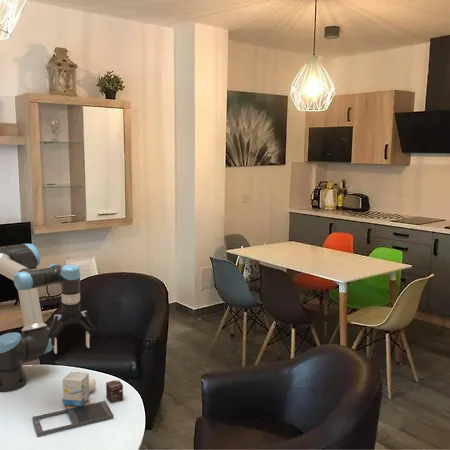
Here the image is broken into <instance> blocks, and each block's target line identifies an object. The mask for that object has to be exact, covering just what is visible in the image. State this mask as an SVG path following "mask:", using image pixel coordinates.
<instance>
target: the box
mask: <svg viewBox="0 0 450 450" xmlns="http://www.w3.org/2000/svg"><path fill="white" fill-rule="evenodd" d="M105 388H106V389H105V390H106V392H105V394H106V396H105V397H106V399H107V400H108V402H109V403H110V404H112V403H116V402H121V401H124V385H123V383H122V382H121V380H120V379H117V380H111V381H106V382H105Z"/></svg>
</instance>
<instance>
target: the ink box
mask: <svg viewBox="0 0 450 450" xmlns="http://www.w3.org/2000/svg"><path fill="white" fill-rule="evenodd" d="M89 376H90V374H89V372H80V371H70V372H69V373H68V374H67V375H66V376H65V377H63V379H62V399H63V400H62V403H63V406H65V405H70V406H82V405H83V404H84V403H85V402H86V401H87V400H89V399H90V392H89Z"/></svg>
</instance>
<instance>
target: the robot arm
mask: <svg viewBox="0 0 450 450" xmlns="http://www.w3.org/2000/svg"><path fill="white" fill-rule="evenodd" d="M40 263H41V257H40V252H39V250H38V247H36V246H35V245H34V244H32V243H20V244H13V245H7V246H5V245H4V246H0V275H2V276H4V277H6V278H8V279H10V280H12V281H13V284H14V286H15V289H16V290H17V293H18V299H19V303H20V304H19V305H20V310H21V316H22V321H23V328H22V329H21V333H20V332H17V331H16V332H7V333H4V334H1V335H0V392H1V393H7V392H8V393H9V392H14V391H16V390H17V391H18V390H19V389H21V388H23V387H24V386H25V385H26V384H27V383H28V378H27V377H28V376H27V374H26V372H25V370H24V366H23V361H24V360H28V359H30V358H34V357H35V358H36V357H38V356H43V355H44V354H48V353H49V352H51V351H52V350H53V352H54V354H56V355H57V353H58V344H57V343H58V340H57V336H58V335H59V333H60V332H61V331H62V329H63V328H64V327H65V326H66V325H71V324H76V323H79V324H80V325H81V326H82V327H83V328H84V329H85V330H86V331H85V347H87V348H88V349H90V341H91V340H92V337H93V336H92V334H93V332H95V331H97V328H96V327H95V325H94V323H93V322H92V320H91V318H90V316H89V311H87V309H84V310H83V311H81V273H80V272H81V270H80V267H79V265H76V264H66V265H62V264H61V265H60V264H58V263H57V264H56V263H54V264H50V265H49V266H48V267H43V268H37V267H38V266H39V265H40ZM51 285H52V286H53V285H59V286H61V287H60V289H61V314H57V313H55V314H54V315H53V319H52V321H51V323H50V326H49V327H48V325H47V324H46V323H45V322H44V321H43V316H42V309H41V304H40V298H39V293H38V288H43V287H47V286H51ZM82 316H83V317H85V319H86V321H87V323H88V325H89V326H90V327H89V326H88V325H87V324H86V323H85V322H84V321H83V320H81V317H82ZM60 319H62V320H60ZM58 321H60V323H59V324H58ZM57 324H58V325H57ZM56 326H57V327H56Z"/></svg>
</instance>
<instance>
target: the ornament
mask: <svg viewBox="0 0 450 450" xmlns="http://www.w3.org/2000/svg"><path fill="white" fill-rule="evenodd" d="M96 383H97V382H96V379H95V378H94V377H92V376H91V375H89V393H91V392H92V391H93V390H94V389H95V388H96V385H97V384H96Z"/></svg>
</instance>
